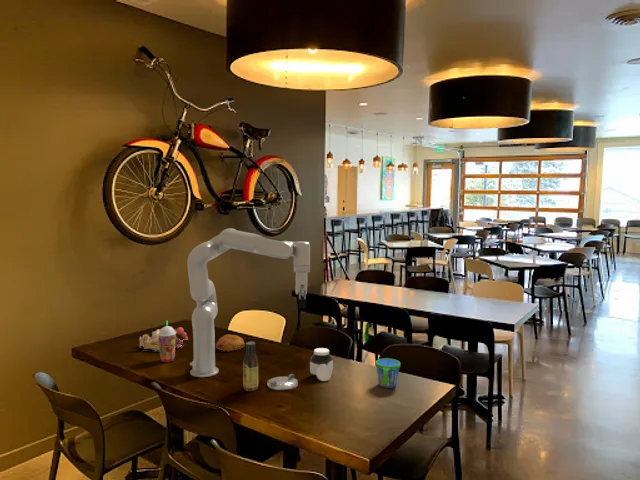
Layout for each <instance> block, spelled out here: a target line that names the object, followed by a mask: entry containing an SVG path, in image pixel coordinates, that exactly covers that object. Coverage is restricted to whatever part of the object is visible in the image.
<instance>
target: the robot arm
mask: <svg viewBox="0 0 640 480" xmlns="http://www.w3.org/2000/svg"><path fill="white" fill-rule="evenodd" d="M230 249H233V250H239V251H243V252H249V253H253V254H257V255H262V256H266V257H270V258H277V259H282V260H287V259H289V258H291V257H293V273H295V295H297V304H298V308H299V309H306V308H307V299H306V295H307V293H308V273H311V243H310V242H309V241H306V240H305V241H304V240H303V241H301V240H299V241H292V240H291V241H290V240H282V241H280V240H275V239H272V238H271V239H270V238H267V237H264V236H262V235H259V234H258V233H257V234H256V233H253V232H247V231H243V230H237V229H236V228H232V227H230V228H225V229H224V230H221V232H220V233H219V234H217V235H216V236H214V237H212V238H210V239H209V240H208V241H205V242H202V243H200V244H198V245H196V246H195V247H194V248H193V249H192V250H191V251H190V253H189V254H188V257H187V261H186V262H187V272H188V273H187V274H188V281H189V290H190V292H189V293H190V296H191V298H192V299H193V300H194V301H195V302H196V307H195V308H194V310H193V312H192V313H191V325H192V340H193V341H192V348H193V351H192V352H193V360H192V361H191V362H189V365H190V366H192V369H191V370H190V372H189V373H190V375H191V377H196V378H206V377H207V378H208V377H212V376H215V375H217V374H219V368H218V367H217V366H216V346H215V345H216V342H215V341H216V339H215V337H216V336H215V335H216V334H215V332H216V331H215V318H217V315H218V311H219V310H218V309H219V308H218V302H217V301H218V300H217V293H216V287H215V284H214V282H213V281H212V280H211V279H209V271H208V267H207V264H208V262H209V261H212V260H213V259H215V258H217V257H219V256H220V255H221V254H223V253H225V252H227V251H229V250H230Z"/></svg>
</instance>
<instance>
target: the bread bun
mask: <svg viewBox="0 0 640 480" xmlns="http://www.w3.org/2000/svg"><path fill="white" fill-rule="evenodd" d="M243 347H244V348H245V347H246V343H245V340H244V338H242V337H241V336H239V335H237V334H231V333H229V334H224V335H222V336H221V337H220V338H219V339H218V340H217V342H215V349H216V348H217V349H219V350H218V351H220V350H223V351H222V352H225V351H227V352H230V351H232V352H234V351H233V350H237V351H239V350H238V349H240V350H242V349H241V348H243ZM244 348H243V349H244ZM217 349H216V350H217Z"/></svg>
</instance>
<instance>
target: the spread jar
mask: <svg viewBox="0 0 640 480" xmlns="http://www.w3.org/2000/svg"><path fill="white" fill-rule="evenodd" d="M333 368H334V365H333V357H332V355H331V354H330V350H329V349H328V348H326V347H325V348H324V347H319V348H314V350H313V355H312V356H311V358H310V361H309V371H310V374H311V375H312V376H313V377H315V378H316V379H318V380H319V381H321V382H327V381H329V380H330V379H331V377H332V375H333V370H334V369H333Z"/></svg>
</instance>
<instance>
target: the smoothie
mask: <svg viewBox="0 0 640 480" xmlns="http://www.w3.org/2000/svg"><path fill="white" fill-rule="evenodd" d="M168 321H169V320H166V321H165V322H166V325H165V326H163V327H162V328H160V329H161V330H160V329H159V330H160V332H159V333H158V336H159V348H160V351H159V357H160V360H161V362H162V363H172V362H173V361H174V360H175V357H176V349H175V341H176V338H177V333H176V332H175V330H176V329H174V328H173V326H169V324H168V323H169V322H168ZM171 361H172V362H171Z"/></svg>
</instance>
